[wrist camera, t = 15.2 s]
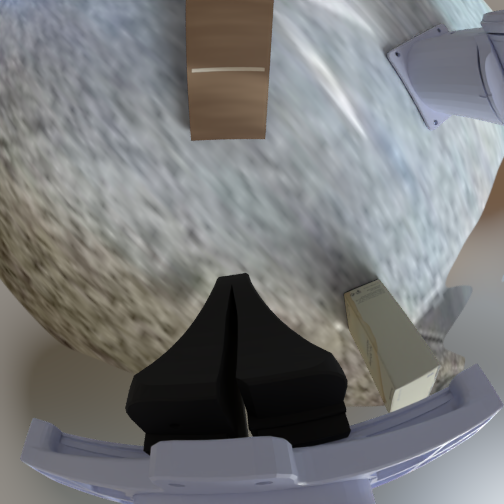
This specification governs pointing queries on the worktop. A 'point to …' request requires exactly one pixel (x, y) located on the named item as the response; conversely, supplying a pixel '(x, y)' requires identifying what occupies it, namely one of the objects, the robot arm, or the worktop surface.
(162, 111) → the worktop surface
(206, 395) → the robot arm
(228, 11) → the walnut tile
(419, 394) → the skincare box
